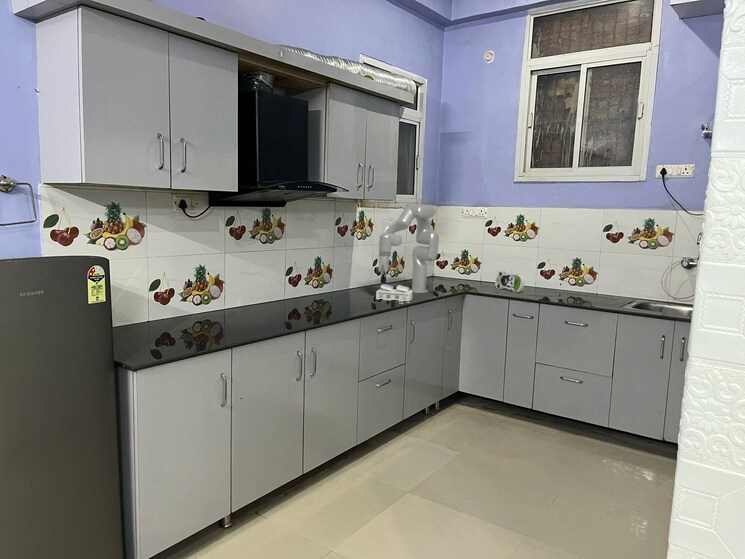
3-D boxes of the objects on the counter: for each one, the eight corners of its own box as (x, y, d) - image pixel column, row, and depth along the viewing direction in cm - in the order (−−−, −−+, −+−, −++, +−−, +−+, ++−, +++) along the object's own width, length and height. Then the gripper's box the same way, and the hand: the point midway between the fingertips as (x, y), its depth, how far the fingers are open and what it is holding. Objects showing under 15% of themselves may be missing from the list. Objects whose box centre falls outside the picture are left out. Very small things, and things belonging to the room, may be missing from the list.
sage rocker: (397, 287, 352) (398, 284, 352) (408, 290, 351) (409, 287, 351) (396, 289, 346) (397, 286, 346) (407, 291, 345) (407, 288, 345)
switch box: (379, 296, 359) (380, 287, 358) (412, 298, 355) (412, 289, 354) (375, 299, 346) (376, 290, 345) (409, 302, 342) (409, 292, 341)
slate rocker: (382, 286, 354) (383, 283, 354) (392, 289, 353) (393, 286, 353) (380, 287, 348) (381, 284, 348) (391, 291, 347) (392, 288, 347)
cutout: (495, 270, 413) (522, 272, 393) (497, 270, 415) (524, 272, 394) (494, 290, 414) (521, 293, 394) (497, 290, 416) (524, 293, 396)
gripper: (381, 252, 356) (379, 281, 359) (376, 254, 342) (375, 284, 344) (392, 253, 355) (391, 282, 357) (388, 255, 340) (387, 285, 343)
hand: (383, 283), depth 351 cm, fingers closed
